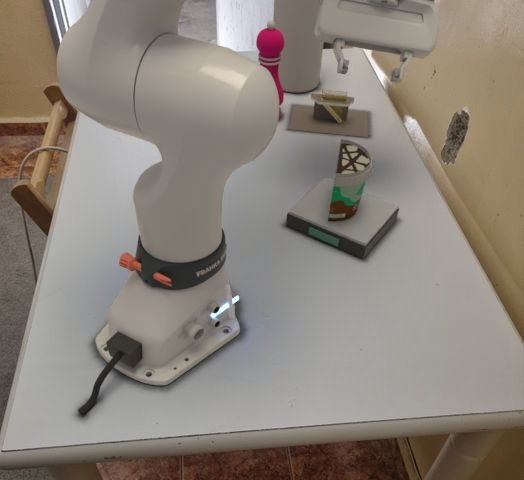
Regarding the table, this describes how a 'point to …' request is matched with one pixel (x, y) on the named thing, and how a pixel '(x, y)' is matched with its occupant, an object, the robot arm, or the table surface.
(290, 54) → the cylinder vase
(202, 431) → the table surface
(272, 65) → the pepper mill
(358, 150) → the food container
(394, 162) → the table surface
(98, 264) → the table surface
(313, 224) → the kitchen scale
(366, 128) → the platform
